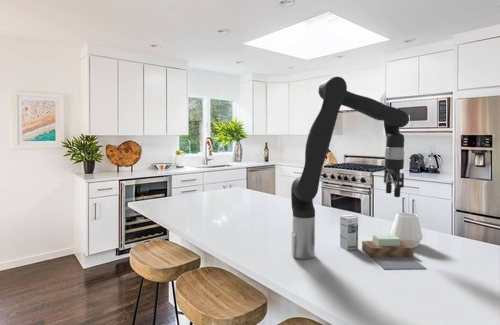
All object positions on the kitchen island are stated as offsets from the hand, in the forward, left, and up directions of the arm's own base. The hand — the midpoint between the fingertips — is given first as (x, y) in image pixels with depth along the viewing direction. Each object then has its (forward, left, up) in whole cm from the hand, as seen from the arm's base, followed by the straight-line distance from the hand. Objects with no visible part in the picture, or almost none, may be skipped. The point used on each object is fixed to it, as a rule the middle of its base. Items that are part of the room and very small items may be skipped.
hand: (392, 195), depth 137 cm
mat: (-4, -15, -25) cm, 29 cm away
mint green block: (-4, -3, -19) cm, 20 cm away
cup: (+10, +7, -25) cm, 28 cm away
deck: (-4, -4, -25) cm, 25 cm away
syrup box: (-18, +3, -25) cm, 31 cm away
